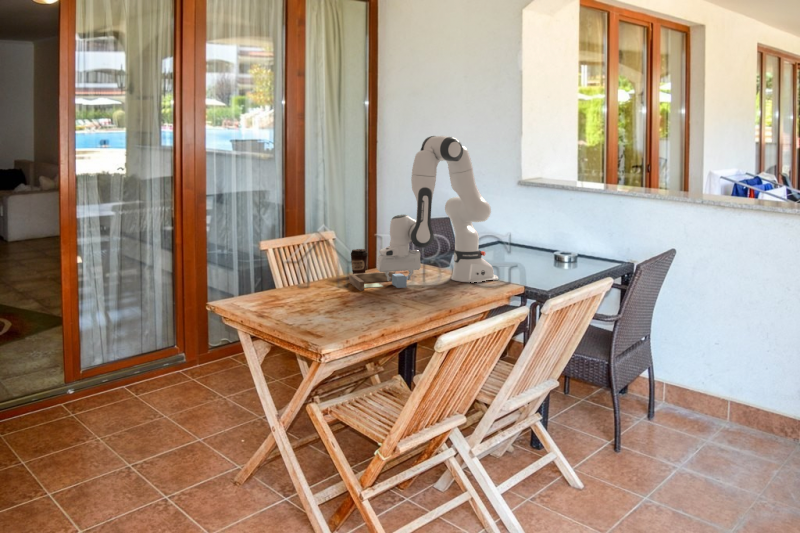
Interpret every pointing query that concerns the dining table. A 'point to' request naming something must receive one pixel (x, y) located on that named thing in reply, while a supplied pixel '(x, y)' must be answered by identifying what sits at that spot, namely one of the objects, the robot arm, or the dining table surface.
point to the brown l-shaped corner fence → (368, 279)
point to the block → (399, 280)
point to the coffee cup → (359, 260)
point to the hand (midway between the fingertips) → (398, 280)
